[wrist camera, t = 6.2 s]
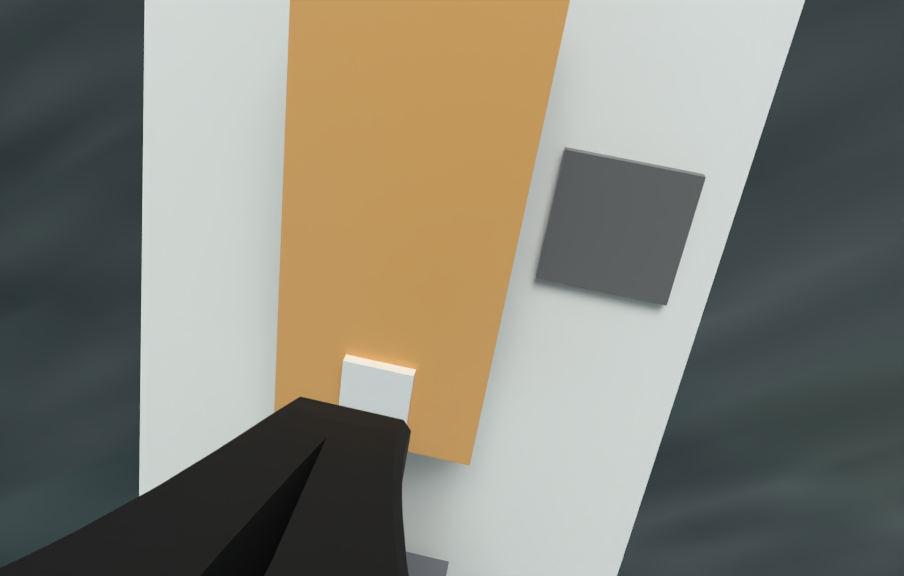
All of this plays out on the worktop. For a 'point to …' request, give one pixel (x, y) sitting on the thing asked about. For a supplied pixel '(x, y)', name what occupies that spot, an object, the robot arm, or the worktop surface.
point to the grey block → (425, 565)
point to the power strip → (532, 278)
